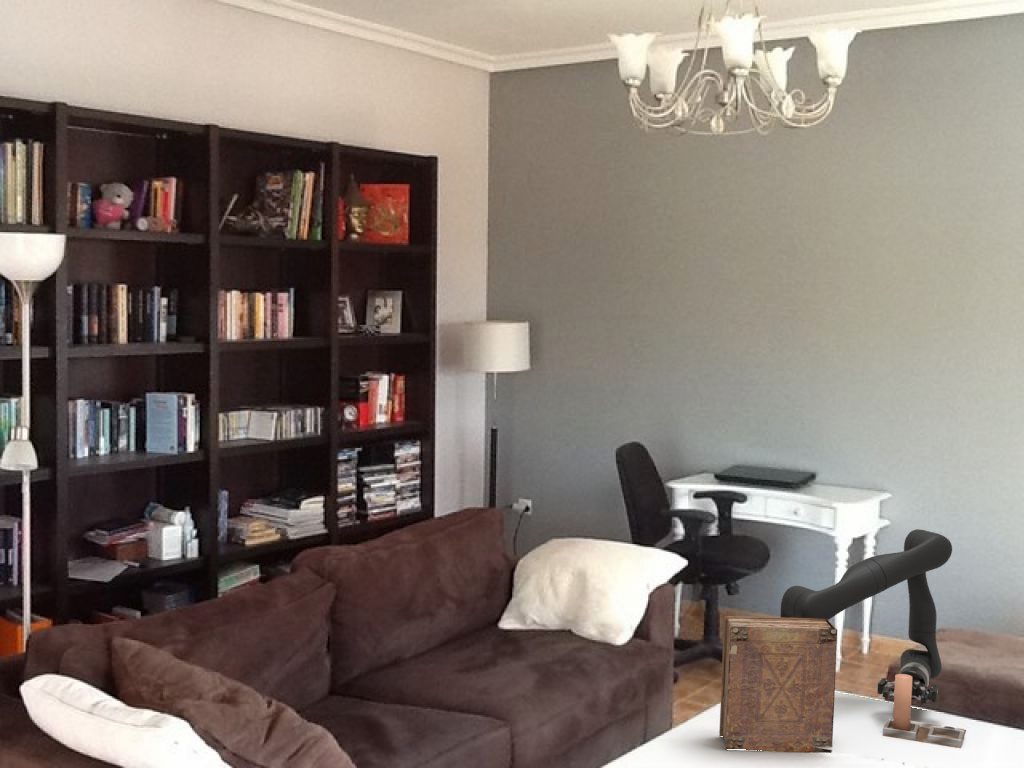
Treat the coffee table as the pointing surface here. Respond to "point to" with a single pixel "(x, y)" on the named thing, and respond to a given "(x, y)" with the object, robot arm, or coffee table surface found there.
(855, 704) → the coffee table surface
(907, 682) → the terracotta pin
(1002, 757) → the coffee table surface
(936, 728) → the walnut socket board
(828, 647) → the book
